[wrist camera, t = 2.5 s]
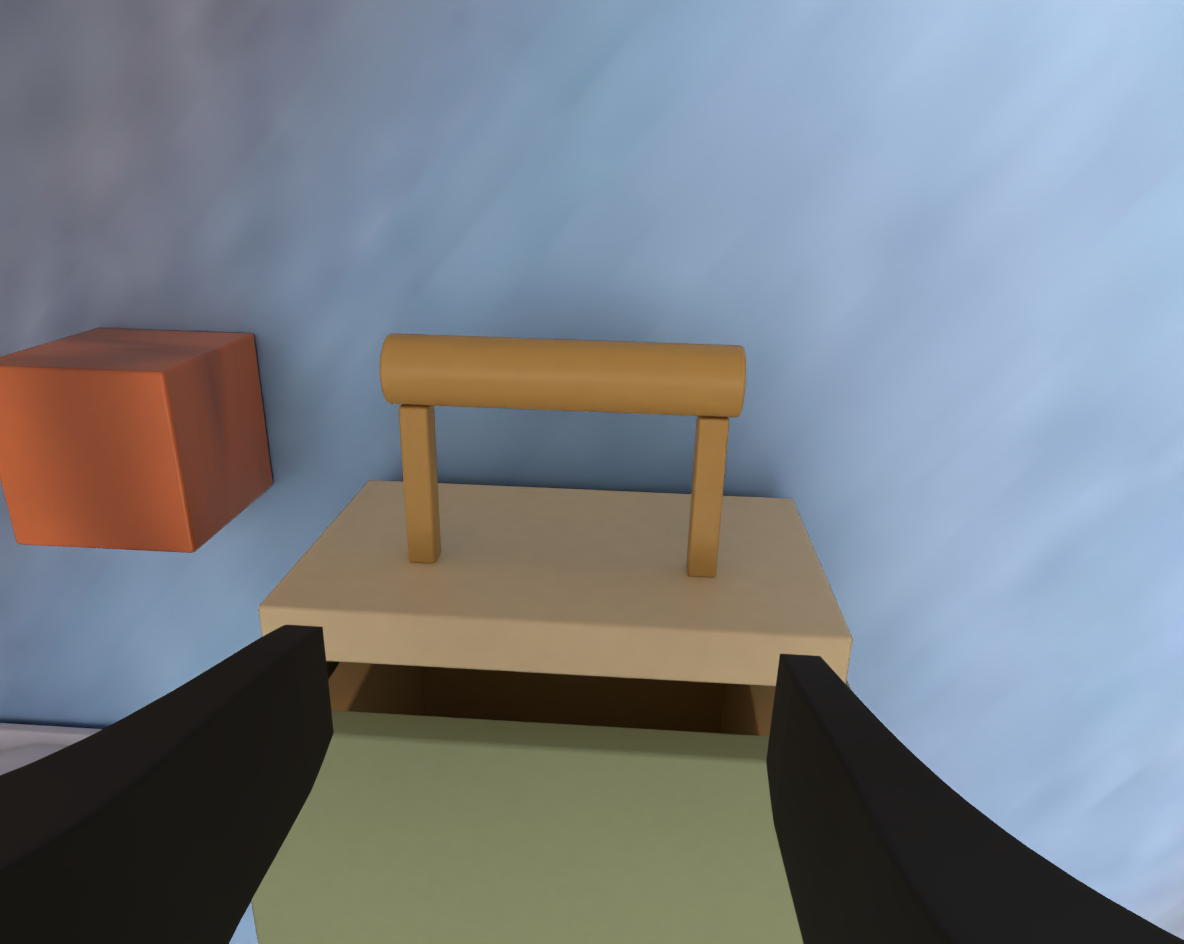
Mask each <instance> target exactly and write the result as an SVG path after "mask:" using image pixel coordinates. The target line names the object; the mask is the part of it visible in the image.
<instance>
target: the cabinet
mask: <svg viewBox="0 0 1184 944" xmlns="http://www.w3.org/2000/svg"><path fill="white" fill-rule="evenodd" d="M339 663H340V662H336V661H326V664H327V674H328V680H329V679H330V677H331V675H332V674H333V672H334V671H335V669H336V667H337V666H338V664H339ZM846 685H847V686H848V687H849V684H848V681H847V679H846ZM849 688H850V687H849ZM850 690H851V689H850ZM331 712H332V721H333V731H334V733H333V736H332V739H331V742H330V744H329V747H328V750H327V752H326V755H325V758H324V761H323V763H322V766H321V768H320V771H319V773H318V776H317V778H316V781H315V783H314V786H313V788H312V790H311V792H310V794H309V796H308V798H307V800H306V802H305V804H304V806H303V808H302V809H301V811H300V813H299V815H298V817H297V819H296V820H295V822H294V824H293V826H292V828H291V830H290V831H289V833H288V835H287V837H286V839H285V841H284V842H283V844H282V846H281V848H280V850H279V851H278V853H277V855H276V857H275V859H274V860H273V862H272V864H271V866H270V868H269V869H268V871H267V873H266V875H265V877H264V878H263V880H262V882H261V884H260V886H259V888H258V889H257V891H256V893H255V895H254V897H253V898H252V900H251V904H252V910H253V915H254V921H255V927H256V933H257V939H258V944H803V940H802V936H801V932H800V928H799V924H798V920H797V916H796V912H795V908H794V904H793V900H792V896H791V892H790V888H789V884H788V880H787V876H786V872H785V868H784V864H783V860H782V856H781V852H780V848H779V843H778V839H777V835H776V831H775V827H774V822H773V815H772V807H771V799H770V791H769V782H768V773H767V764H766V758H767V750H768V743H769V736H758V735H741V734H724V733H707V732H690V731H673V730H656V729H640V728H623V727H606V726H589V725H572V724H555V723H538V722H521V721H505V720H488V719H471V718H454V717H437V716H420V715H403V714H386V713H370V712H353V711H336V710H331Z"/></svg>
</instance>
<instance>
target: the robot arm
mask: <svg viewBox="0 0 1184 944" xmlns="http://www.w3.org/2000/svg"><path fill="white" fill-rule="evenodd" d="M333 733H334V731H333V721H332V712H331V702H330V693H329V683H328V674H327V664H326V655H325V645H324V636H323V627H319V626H302V625H283V626H281V627H279V628H277V629H275V630H274V631H272V632H270V633H268V634H266V635H265V636H263V637H261V638H260V639H258V640H256V641H255V642H253V643H251V644H250V645H248V646H246V647H245V648H243V649H241V650H240V651H238V652H236V653H235V654H233V655H232V656H230V657H228V658H227V659H225V660H223V661H222V662H220V663H219V664H217V665H215V666H214V667H212V668H210V669H209V670H207V671H205V672H204V673H202V674H200V675H199V676H197V677H195V678H194V679H192V680H190V681H189V682H187V683H186V684H184V685H182V686H181V687H179V688H177V689H175V690H174V691H172V692H170V693H168V694H166V695H165V696H163V697H161V698H159V699H157V700H156V701H154V702H152V703H150V704H149V705H147V706H145V707H143V708H141V709H140V710H138V711H136V712H134V713H132V714H131V715H129V716H127V717H125V718H123V719H122V720H120V721H118V722H116V723H114V724H112V725H110V726H108V727H106V728H105V729H91V728H75V727H59V726H43V725H26V724H10V723H0V944H229V942H230V940H231V938H232V936H233V934H234V932H235V930H236V928H237V926H238V924H239V922H240V920H241V918H242V916H243V915H244V913H245V911H246V909H247V907H248V906H249V904H250V902H251V900H252V898H253V897H254V895H255V893H256V891H257V889H258V888H259V886H260V884H261V882H262V880H263V878H264V877H265V875H266V873H267V871H268V869H269V868H270V866H271V864H272V862H273V860H274V859H275V857H276V855H277V853H278V851H279V850H280V848H281V846H282V844H283V842H284V841H285V839H286V837H287V835H288V833H289V831H290V830H291V828H292V826H293V824H294V822H295V820H296V819H297V817H298V815H299V813H300V811H301V809H302V808H303V806H304V804H305V802H306V800H307V798H308V796H309V794H310V792H311V790H312V788H313V786H314V783H315V781H316V778H317V776H318V773H319V771H320V768H321V766H322V763H323V761H324V758H325V755H326V752H327V750H328V747H329V744H330V742H331V739H332V736H333ZM766 764H767V773H768V782H769V791H770V799H771V807H772V815H773V822H774V827H775V831H776V835H777V839H778V843H779V848H780V852H781V856H782V860H783V864H784V868H785V872H786V876H787V880H788V884H789V888H790V892H791V896H792V900H793V904H794V908H795V912H796V916H797V920H798V924H799V928H800V932H801V936H802V940H803V944H1184V940H1182V939H1180V938H1178V937H1176V936H1174V935H1172V934H1171V933H1169V932H1167V931H1165V930H1163V929H1161V928H1159V927H1158V926H1156V925H1154V924H1152V923H1150V922H1149V921H1147V920H1145V919H1143V918H1142V917H1140V916H1138V915H1136V914H1135V913H1133V912H1131V911H1129V910H1127V909H1126V908H1124V907H1122V906H1120V905H1119V904H1117V903H1115V902H1113V901H1112V900H1110V899H1108V898H1106V897H1105V896H1103V895H1102V894H1100V893H1098V892H1097V891H1095V890H1093V889H1092V888H1090V887H1088V886H1087V885H1085V884H1083V883H1082V882H1080V881H1079V880H1077V879H1075V878H1074V877H1072V876H1071V875H1069V874H1068V873H1066V872H1065V871H1063V870H1062V869H1060V868H1059V867H1057V866H1056V865H1054V864H1053V863H1051V862H1050V861H1048V860H1047V859H1045V858H1044V857H1042V856H1040V855H1039V854H1037V853H1036V852H1034V851H1033V850H1031V849H1030V848H1028V847H1027V846H1026V845H1024V844H1023V843H1021V842H1020V841H1019V840H1017V839H1016V838H1014V837H1013V836H1012V835H1010V834H1009V833H1007V832H1006V831H1005V830H1003V829H1002V828H1001V827H999V826H998V825H997V824H996V823H994V822H993V821H992V820H990V819H989V818H988V817H987V816H985V815H984V814H983V813H981V812H980V811H979V810H978V809H976V808H975V807H974V806H972V805H971V804H970V803H968V802H967V801H966V800H965V799H963V798H962V797H961V796H960V795H959V794H957V793H956V792H955V791H954V790H953V789H951V788H950V787H949V786H948V785H947V784H946V783H945V782H943V781H942V780H941V779H940V778H939V777H938V776H937V775H936V774H935V773H933V772H932V771H931V770H930V769H929V768H928V767H927V766H926V765H925V764H923V763H922V762H921V761H920V760H919V759H918V758H917V757H916V756H915V755H914V754H913V753H912V752H911V751H910V750H908V749H907V748H906V747H905V746H904V745H903V744H902V743H901V742H900V741H899V740H898V739H897V738H896V737H895V736H894V735H893V734H892V733H891V732H890V731H889V730H888V729H887V728H886V727H885V726H884V725H883V724H882V723H881V722H880V721H879V720H878V719H877V718H876V716H875V715H874V714H873V713H872V712H871V711H870V710H869V709H868V708H867V707H866V706H865V705H864V704H863V703H862V702H861V700H860V699H859V698H858V697H857V696H856V695H855V694H854V693H853V692H852V691H851V690H850V688H849V687H848V686H847V685H846V684H845V683H844V682H843V681H842V680H841V678H840V677H839V676H838V675H837V674H836V673H835V672H834V671H833V670H832V668H831V667H830V666H829V665H828V664H827V663H826V662H825V661H824V660H823V659H822V658H821V656H813V655H796V654H780V657H779V665H778V673H777V680H776V688H775V696H774V704H773V711H772V719H771V727H770V735H769V743H768V750H767V758H766Z"/></svg>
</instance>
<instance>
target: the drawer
mask: <svg viewBox="0 0 1184 944" xmlns="http://www.w3.org/2000/svg"><path fill="white" fill-rule="evenodd" d="M380 381H381V387H382V391H383V394H384V397H385V399H386V401H387V402H389V403H391V404H402V405H401V406H400V407H399V422H400V437H401V452H402V467H403V482H402V481H379V480H370V481H368V482H367V483H366V485H365V486H364V487H363V488H362V489H361V490H360V491H359V493H358V494H357V495H356V496H355V497H354V498H353V499H352V500H351V502H350V503H349V504H348V505H347V506H346V507H345V508H344V510H343V511H342V512H341V513H340V514H339V515H338V516H337V518H336V519H335V520H334V521H333V522H332V523H331V524H330V526H329V527H328V528H327V529H326V530H325V531H324V532H323V534H322V535H321V536H320V537H319V538H318V539H317V540H316V542H315V543H314V544H313V545H312V546H311V547H310V548H309V549H308V551H307V552H306V553H305V554H304V555H303V556H302V557H301V559H300V560H299V561H298V562H297V563H296V564H295V565H294V567H293V568H292V569H291V570H290V571H289V572H288V573H287V575H286V576H285V577H284V578H283V579H282V580H281V581H280V583H279V584H278V585H277V586H276V587H275V588H274V589H273V591H272V592H271V593H270V594H269V595H268V596H267V597H266V598H265V600H264V601H263V602H262V603H261V604H260V605H259V609H258V610H259V617H260V624H261V631H262V637H263V636H265V635H266V634H268V633H270V632H272V631H274V630H275V629H277V628H279V627H281V626H283V625H302V626H319V627H323V636H324V645H325V655H326V661H336V662H340V663H339V664H338V666H337V667H336V669H335V671H334V672H333V674H332V675H331V677H330V679H329V680H328V683H329V693H330V702H331V710H336V711H353V712H370V713H386V714H403V715H420V716H437V717H454V718H471V719H488V720H505V721H521V722H538V723H555V724H572V725H589V726H606V727H623V728H640V729H656V730H673V731H690V732H707V733H724V734H741V735H758V736H769V735H770V727H771V719H772V711H773V704H774V696H775V688H776V680H777V673H778V665H779V657H780V654H796V655H813V656H821V658H822V659H823V660H824V661H825V662H826V663H827V664H828V665H829V666H830V667H831V668H832V670H833V671H834V672H835V673H836V674H837V675H838V676H839V677H840V678H841V680H842V681H843V682H844V683H845V684H846V679H847V673H848V666H849V660H850V654H851V647H852V641H853V639H852V636H851V634H850V631H849V629H848V627H847V624H846V622H845V620H844V617H843V615H842V613H841V610H840V608H839V606H838V603H837V601H836V599H835V597H834V594H833V592H832V590H831V587H830V585H829V583H828V580H827V578H826V576H825V573H824V571H823V569H822V566H821V564H820V562H819V559H818V557H817V555H816V553H815V550H814V548H813V546H812V543H811V541H810V539H809V536H808V534H807V532H806V529H805V527H804V525H803V522H802V520H801V518H800V515H799V513H798V511H797V508H796V506H795V504H794V502H793V500H792V499H787V498H764V497H741V496H723V487H724V475H725V464H726V452H727V440H728V429H729V420H728V417H738V416H740V414H741V411H742V407H743V402H744V394H745V383H746V356H745V351H744V348H743V347H742V346H739V345H710V344H681V343H652V342H623V341H594V340H565V339H536V338H508V337H479V336H450V335H421V334H390V335H388V336H387V337H386V339H385V341H384V343H383V347H382V351H381V357H380ZM434 405H435V406H460V407H486V408H511V409H537V410H562V411H588V412H613V413H639V414H664V415H690V416H697V421H696V435H695V449H694V463H693V477H692V491H691V494H673V493H651V492H628V491H605V490H583V489H560V488H538V487H515V486H492V485H470V484H447V483H438V477H437V457H436V437H435V416H434Z"/></svg>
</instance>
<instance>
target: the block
mask: <svg viewBox="0 0 1184 944" xmlns="http://www.w3.org/2000/svg"><path fill="white" fill-rule="evenodd" d="M0 479H1V483H2V487H3V491H4V495H5V499H6V503H7V507H8V511H9V514H10V518H11V522H12V526H13V530H14V534H15V538H16V542H17V543H18V544H25V545H46V546H66V547H86V548H106V549H126V550H147V551H167V552H187V553H193V552H195V551H197V550H198V549H199V548H200V547H201V546H202V545H204V544H205V543H206V542H207V541H208V540H209V539H211V538H212V537H213V536H214V535H215V534H216V533H217V532H219V531H220V530H221V529H222V528H223V527H224V526H226V525H227V524H228V523H229V522H230V521H231V520H233V519H234V518H235V517H236V516H237V515H238V514H240V513H241V512H242V511H243V510H244V509H245V508H247V507H248V506H249V505H250V504H251V503H252V502H254V501H255V500H256V499H257V498H258V497H259V496H261V495H262V494H263V493H264V492H265V491H266V490H268V489H269V488H270V487H271V486H272V484H273V481H272V474H271V466H270V458H269V450H268V442H267V434H266V427H265V419H264V411H263V403H262V395H261V387H260V380H259V372H258V364H257V356H256V348H255V340H254V335H253V334H251V333H228V332H199V331H171V330H142V329H113V328H95V329H92V330H89V331H85V332H82V333H78V334H75V335H72V336H68V337H65V338H62V339H58V340H55V341H52V342H48V343H45V344H42V345H38V346H35V347H32V348H28V349H25V350H22V351H18V352H15V353H12V354H8V355H5V356H2V357H0Z"/></svg>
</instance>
